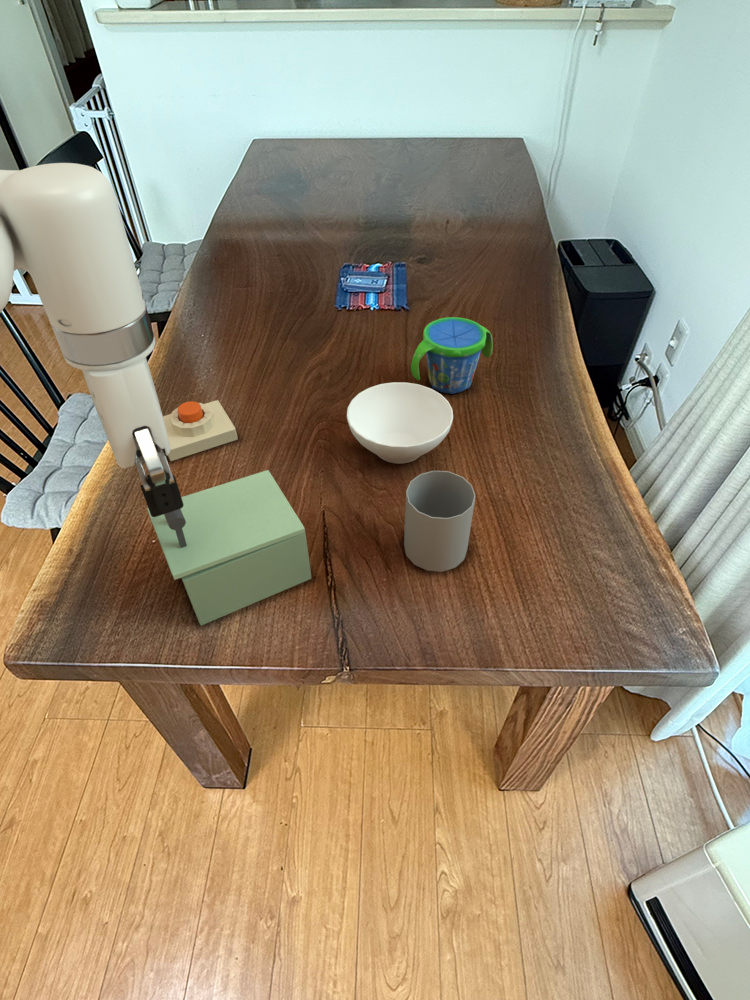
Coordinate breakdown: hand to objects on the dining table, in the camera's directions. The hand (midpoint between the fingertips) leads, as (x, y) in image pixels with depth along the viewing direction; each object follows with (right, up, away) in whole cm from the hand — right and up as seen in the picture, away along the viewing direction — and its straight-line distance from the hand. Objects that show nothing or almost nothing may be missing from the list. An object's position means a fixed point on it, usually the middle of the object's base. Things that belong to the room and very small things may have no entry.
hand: (155, 481), depth 62 cm
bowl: (+27, +6, +32) cm, 42 cm away
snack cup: (+36, +19, +45) cm, 61 cm away
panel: (-6, +9, +35) cm, 36 cm away
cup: (+31, -8, +18) cm, 37 cm away
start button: (-6, +11, +32) cm, 35 cm away
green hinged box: (+6, -11, +15) cm, 20 cm away
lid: (+5, -5, +9) cm, 11 cm away
